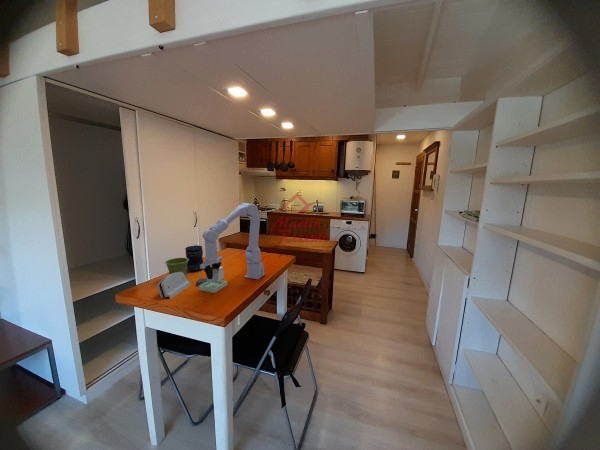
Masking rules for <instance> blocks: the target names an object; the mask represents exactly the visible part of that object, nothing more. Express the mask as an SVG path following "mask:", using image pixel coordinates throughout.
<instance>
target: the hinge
mask: <svg viewBox="0 0 600 450" xmlns="http://www.w3.org/2000/svg"><path fill="white" fill-rule="evenodd" d="M191 285H192V283H191V281H189V280H188V278H187V277H185V275H184V273H183V272H176V273H172V274H168V275H166V276H165V277H163V278H162V279H161V280H160V281H159V282H158V283H157V285H156V286H157V287H156V288H157V290H158V292H159V296H160V298H161V299H164V298H167V297H168V298H169V300H171V299H172V298H174V297H175V296H177V295H179V294H180V293H181V292H182V291H185V290H186V289H187V288H189V286H191Z"/></svg>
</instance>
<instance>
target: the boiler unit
mask: <svg viewBox="0 0 600 450" xmlns="http://www.w3.org/2000/svg"><path fill="white" fill-rule="evenodd" d="M210 266H211V267H212V265H210ZM224 271H225V270H224V266H220V268H219V272H218V279H219V280H222V281H223V279H224V277H225V276H224V275H225V273H224ZM205 276H206V277H205V278H207V275H205Z"/></svg>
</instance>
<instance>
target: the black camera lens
mask: <svg viewBox="0 0 600 450" xmlns="http://www.w3.org/2000/svg"><path fill="white" fill-rule="evenodd" d="M184 248H185V249H184V250H185V258H188V259H189V260H188V263H187V268H186V273H190V274H194V273H199V272H202V271H204V270H203V269H200V265H201V264H203V263H204V259H203V258H204V256H203V255H204V253H203V252H204V251H203V246H202V245H190V246H189V245H188V246H186V247H184Z"/></svg>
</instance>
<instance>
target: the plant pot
mask: <svg viewBox="0 0 600 450" xmlns="http://www.w3.org/2000/svg"><path fill="white" fill-rule="evenodd" d="M188 260H189V259H188V258H187V257H174V258H169V259H167V260H166V261H165V262H164V264H165V265H166V267H167V269H168V273H169V274H168V275H170V274H172V273H176V272H183V273H184V275H185V277H186V276H187V263H188ZM186 278H187V277H186Z"/></svg>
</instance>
